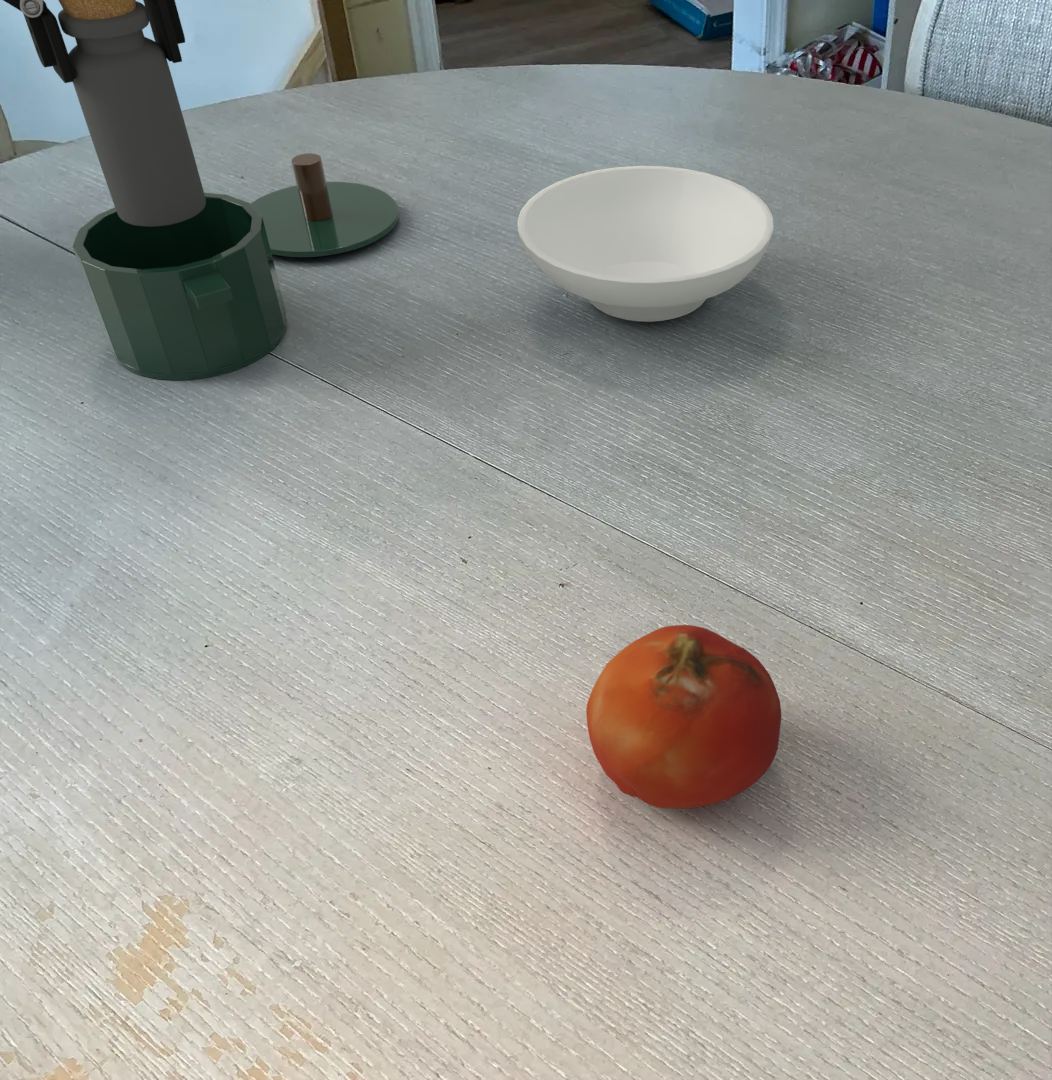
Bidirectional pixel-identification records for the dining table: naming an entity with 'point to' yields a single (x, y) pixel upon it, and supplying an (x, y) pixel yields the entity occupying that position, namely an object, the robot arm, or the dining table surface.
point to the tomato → (684, 718)
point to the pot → (184, 290)
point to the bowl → (645, 238)
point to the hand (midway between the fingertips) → (117, 63)
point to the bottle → (132, 112)
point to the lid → (323, 213)
